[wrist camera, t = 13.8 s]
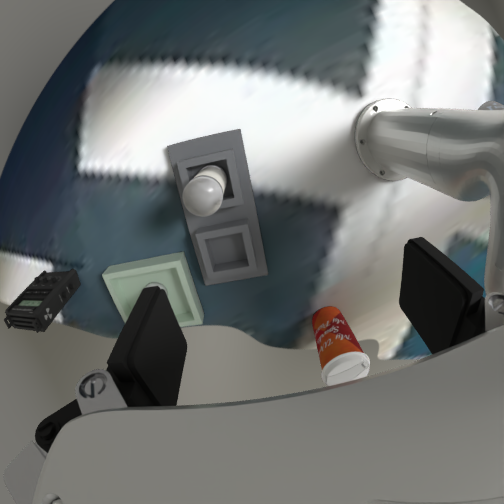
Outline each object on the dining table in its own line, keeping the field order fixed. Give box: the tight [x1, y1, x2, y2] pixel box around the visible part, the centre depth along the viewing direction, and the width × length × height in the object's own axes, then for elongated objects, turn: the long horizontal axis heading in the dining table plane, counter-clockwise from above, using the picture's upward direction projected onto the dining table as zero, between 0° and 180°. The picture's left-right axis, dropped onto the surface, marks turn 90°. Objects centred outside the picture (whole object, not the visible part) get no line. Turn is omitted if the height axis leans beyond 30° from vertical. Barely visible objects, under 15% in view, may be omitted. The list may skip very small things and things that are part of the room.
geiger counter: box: [4, 269, 81, 333], centre depth 37 cm, size 10×4×15 cm, turn 94°
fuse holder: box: [167, 129, 268, 286], centre depth 38 cm, size 10×22×4 cm, turn 11°
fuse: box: [183, 165, 227, 217], centre depth 32 cm, size 4×4×10 cm
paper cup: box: [312, 306, 370, 386], centre depth 43 cm, size 8×8×14 cm
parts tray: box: [102, 252, 204, 327], centre depth 44 cm, size 14×12×3 cm
